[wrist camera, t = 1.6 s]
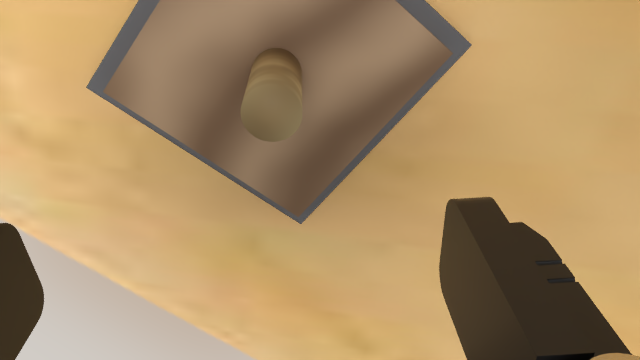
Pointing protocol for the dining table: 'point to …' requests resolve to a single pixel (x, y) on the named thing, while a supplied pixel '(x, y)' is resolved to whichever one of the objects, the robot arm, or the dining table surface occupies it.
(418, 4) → the mat
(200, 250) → the dining table surface
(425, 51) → the lid
